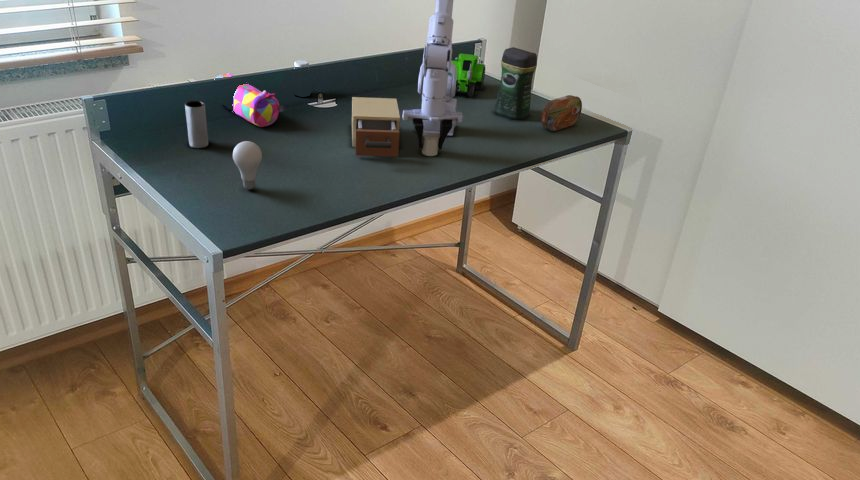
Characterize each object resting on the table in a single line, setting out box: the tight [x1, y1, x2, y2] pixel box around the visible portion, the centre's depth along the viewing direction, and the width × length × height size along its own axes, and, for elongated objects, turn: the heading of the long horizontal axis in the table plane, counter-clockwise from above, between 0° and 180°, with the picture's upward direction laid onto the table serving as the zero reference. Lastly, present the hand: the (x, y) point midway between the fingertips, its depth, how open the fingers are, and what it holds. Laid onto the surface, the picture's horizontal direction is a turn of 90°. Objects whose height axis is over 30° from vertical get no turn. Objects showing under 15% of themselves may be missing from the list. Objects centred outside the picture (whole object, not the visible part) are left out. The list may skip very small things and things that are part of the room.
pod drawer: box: [354, 119, 400, 158], centre depth 179 cm, size 17×10×6 cm, turn 6°
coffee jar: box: [494, 46, 538, 120], centre depth 206 cm, size 10×8×19 cm
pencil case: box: [215, 73, 285, 128], centre depth 193 cm, size 22×9×9 cm, turn 47°
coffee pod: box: [421, 131, 440, 157], centre depth 182 cm, size 5×5×5 cm
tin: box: [540, 94, 583, 132], centre depth 203 cm, size 15×3×8 cm, turn 131°
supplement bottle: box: [293, 59, 310, 68], centre depth 209 cm, size 5×5×10 cm
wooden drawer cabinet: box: [351, 96, 401, 148], centre depth 188 cm, size 14×12×8 cm
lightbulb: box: [232, 140, 263, 191], centre depth 157 cm, size 6×6×11 cm
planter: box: [184, 100, 209, 149], centre depth 175 cm, size 4×4×10 cm
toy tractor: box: [448, 53, 486, 98], centre depth 223 cm, size 11×16×10 cm
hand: (429, 147), depth 183 cm, fingers closed on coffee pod, 4 cm apart
